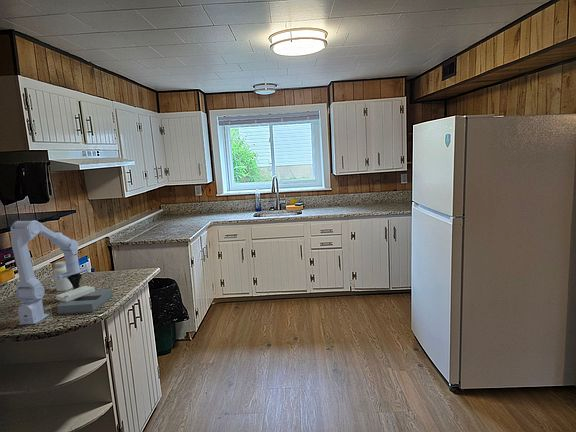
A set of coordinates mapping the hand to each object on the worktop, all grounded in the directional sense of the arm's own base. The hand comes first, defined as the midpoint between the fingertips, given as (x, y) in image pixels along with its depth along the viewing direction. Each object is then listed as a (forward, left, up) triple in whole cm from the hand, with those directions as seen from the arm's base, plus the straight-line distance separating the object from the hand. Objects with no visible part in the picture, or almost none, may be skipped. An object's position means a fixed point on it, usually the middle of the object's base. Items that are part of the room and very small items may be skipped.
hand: (76, 288), depth 196 cm
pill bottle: (+15, +16, -5) cm, 22 cm away
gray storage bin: (-11, -10, -5) cm, 16 cm away
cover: (-8, -5, 0) cm, 10 cm away
